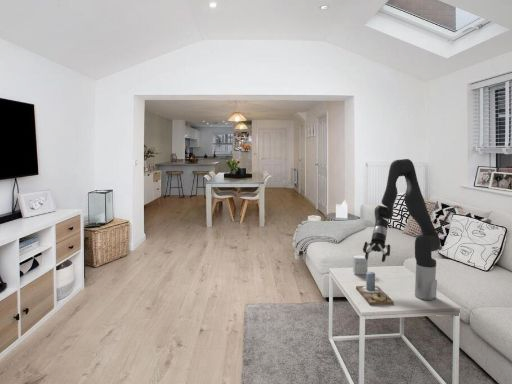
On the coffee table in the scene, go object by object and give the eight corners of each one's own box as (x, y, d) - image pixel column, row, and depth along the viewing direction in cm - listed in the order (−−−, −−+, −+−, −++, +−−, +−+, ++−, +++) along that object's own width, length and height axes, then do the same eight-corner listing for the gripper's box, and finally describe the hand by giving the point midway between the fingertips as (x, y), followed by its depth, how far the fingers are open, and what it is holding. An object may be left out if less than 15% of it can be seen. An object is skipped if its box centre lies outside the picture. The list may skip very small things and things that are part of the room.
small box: (365, 271, 210) (365, 255, 209) (367, 274, 205) (368, 258, 204) (352, 271, 211) (352, 255, 210) (354, 274, 206) (354, 258, 204)
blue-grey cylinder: (375, 288, 179) (376, 272, 178) (373, 291, 175) (373, 275, 174) (367, 287, 181) (367, 271, 180) (365, 290, 177) (365, 273, 176)
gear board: (393, 304, 164) (393, 295, 163) (369, 304, 163) (370, 295, 163) (377, 288, 184) (377, 280, 183) (356, 288, 183) (356, 280, 183)
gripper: (365, 230, 192) (360, 255, 184) (391, 233, 184) (387, 259, 176) (367, 237, 197) (362, 261, 189) (393, 240, 189) (389, 265, 181)
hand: (374, 260), depth 182 cm, fingers open, 8 cm apart
